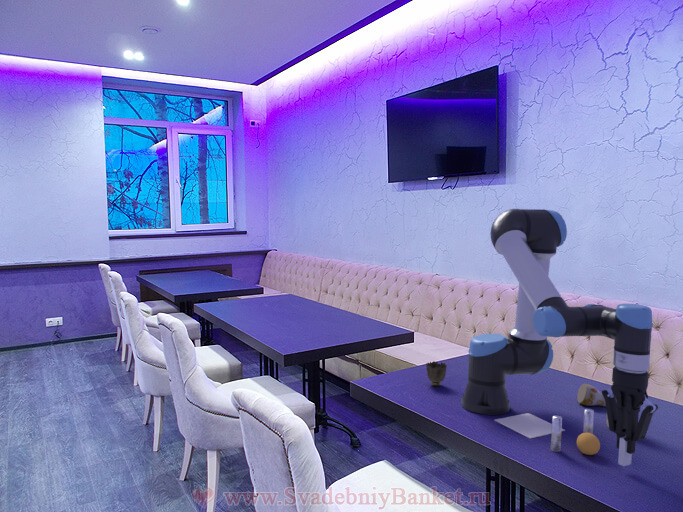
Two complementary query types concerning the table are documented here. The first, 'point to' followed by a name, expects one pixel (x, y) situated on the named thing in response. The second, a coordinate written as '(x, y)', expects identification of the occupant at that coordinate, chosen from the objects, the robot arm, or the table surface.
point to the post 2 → (588, 421)
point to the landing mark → (527, 425)
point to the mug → (590, 396)
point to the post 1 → (556, 433)
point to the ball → (588, 443)
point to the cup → (436, 372)
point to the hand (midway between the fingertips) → (624, 463)
